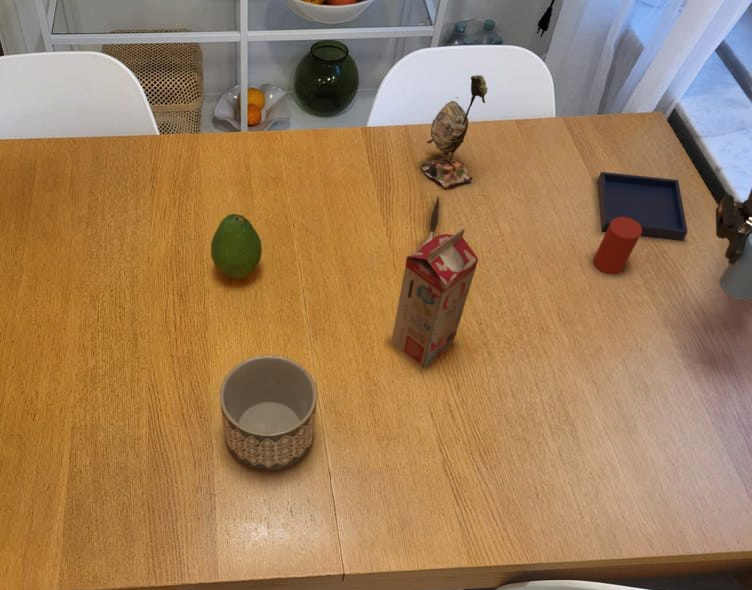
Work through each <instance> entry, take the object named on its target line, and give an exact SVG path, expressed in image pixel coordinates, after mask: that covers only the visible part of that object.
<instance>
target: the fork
mask: <svg viewBox="0 0 752 590" xmlns="http://www.w3.org/2000/svg"><path fill="white" fill-rule="evenodd" d="M439 203H440V196H438V197H437V198H436V201H435V206H434V208H433V211H432V214H431V218H430V234H429V237H428V238H427V239H426V240H425V241H424V242H423V244H422V245H421V246H420V247H422V246H423V245H425V244H426V243H427V242H429V241H430V240H432V239H433V238H434V237H433V235H434V232H435V230H436V227H437V224H438V220H439Z"/></svg>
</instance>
